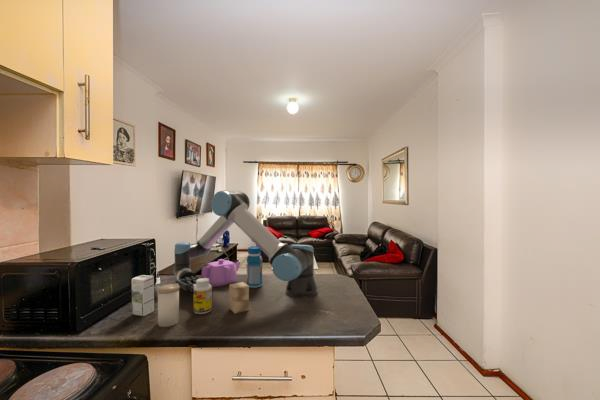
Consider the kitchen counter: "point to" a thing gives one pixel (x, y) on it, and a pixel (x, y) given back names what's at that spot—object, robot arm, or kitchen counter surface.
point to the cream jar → (168, 305)
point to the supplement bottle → (202, 296)
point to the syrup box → (142, 295)
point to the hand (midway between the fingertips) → (198, 291)
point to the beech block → (239, 297)
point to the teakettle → (220, 272)
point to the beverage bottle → (254, 267)
